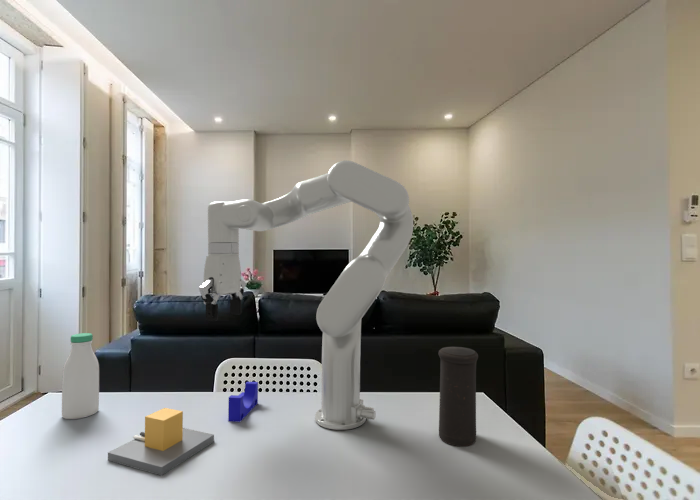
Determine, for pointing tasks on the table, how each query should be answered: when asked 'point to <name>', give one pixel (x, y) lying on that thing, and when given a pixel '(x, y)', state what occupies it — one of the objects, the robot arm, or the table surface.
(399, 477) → the table surface
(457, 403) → the container
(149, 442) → the mustard yellow cube
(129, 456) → the plate
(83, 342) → the milk bottle
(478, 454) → the table surface
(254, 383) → the blue arch bracket
